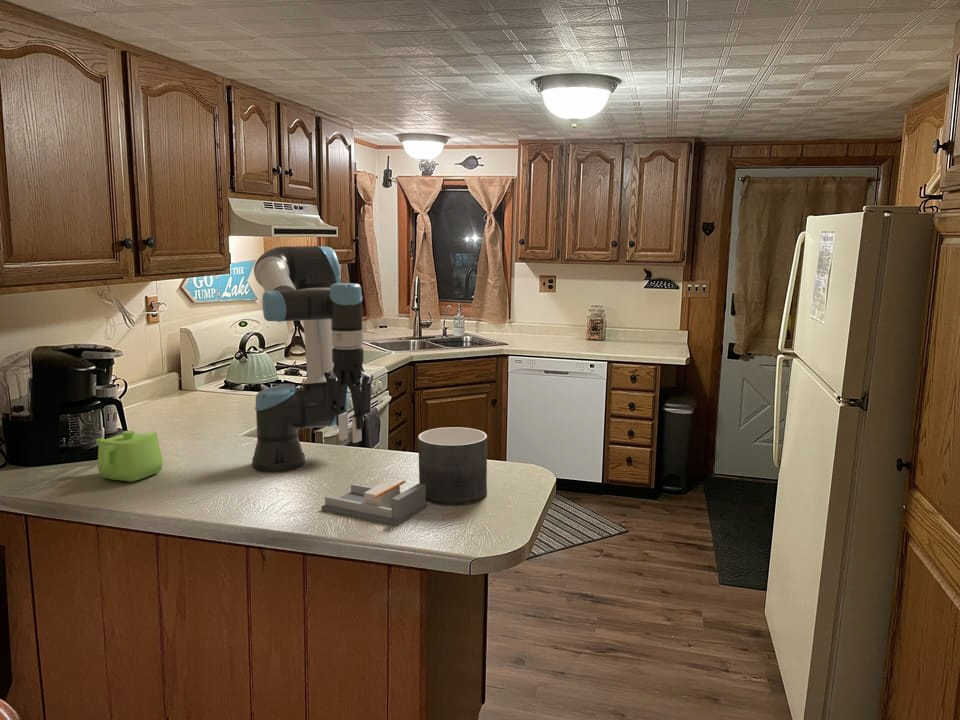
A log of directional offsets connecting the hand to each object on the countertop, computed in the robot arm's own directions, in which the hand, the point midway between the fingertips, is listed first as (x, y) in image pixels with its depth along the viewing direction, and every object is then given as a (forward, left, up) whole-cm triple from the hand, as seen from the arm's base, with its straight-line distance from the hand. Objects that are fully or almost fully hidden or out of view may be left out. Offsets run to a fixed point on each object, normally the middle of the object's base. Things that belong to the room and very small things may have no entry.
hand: (350, 440), depth 180 cm
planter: (+19, +18, -17) cm, 31 cm away
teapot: (-71, -11, -17) cm, 74 cm away
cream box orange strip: (+9, 0, -15) cm, 18 cm away
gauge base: (+7, 0, -17) cm, 18 cm away
